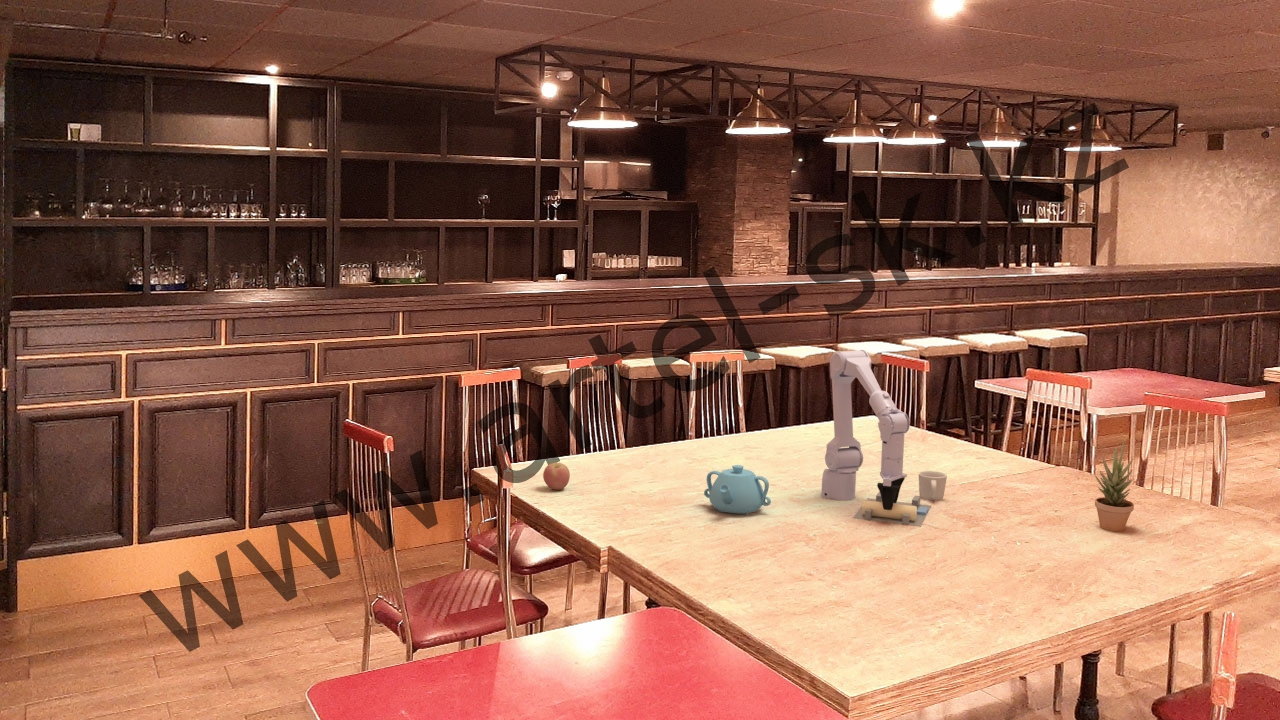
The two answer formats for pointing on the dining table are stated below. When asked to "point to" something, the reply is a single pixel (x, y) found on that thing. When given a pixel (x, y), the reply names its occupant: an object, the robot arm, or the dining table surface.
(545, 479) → the apple
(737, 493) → the teapot
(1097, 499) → the potted plant
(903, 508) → the tan tapered cylinder
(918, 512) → the board
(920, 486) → the cup
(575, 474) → the dining table surface
